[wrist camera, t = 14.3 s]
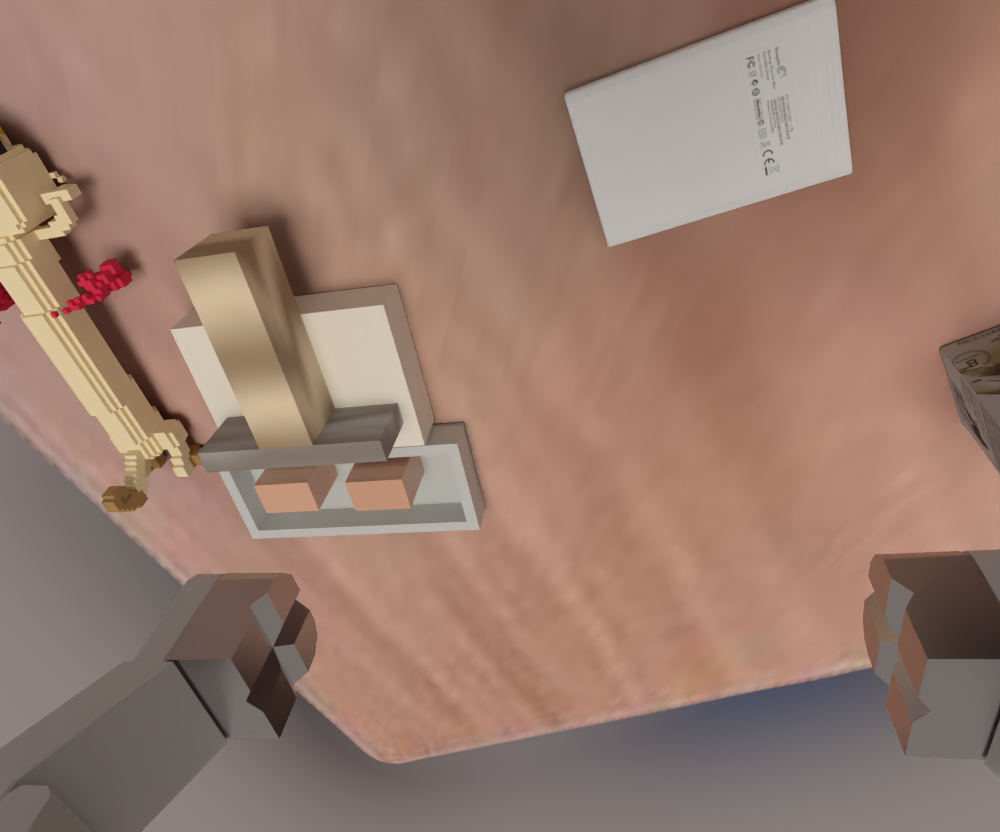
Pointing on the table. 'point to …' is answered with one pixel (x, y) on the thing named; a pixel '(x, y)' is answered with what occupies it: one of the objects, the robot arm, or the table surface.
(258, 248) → the scraper
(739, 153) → the external hard drive
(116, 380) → the beige long curved piece
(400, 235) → the table surface
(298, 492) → the tile
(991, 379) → the coffee box
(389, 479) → the tile
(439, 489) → the tray
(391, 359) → the board
